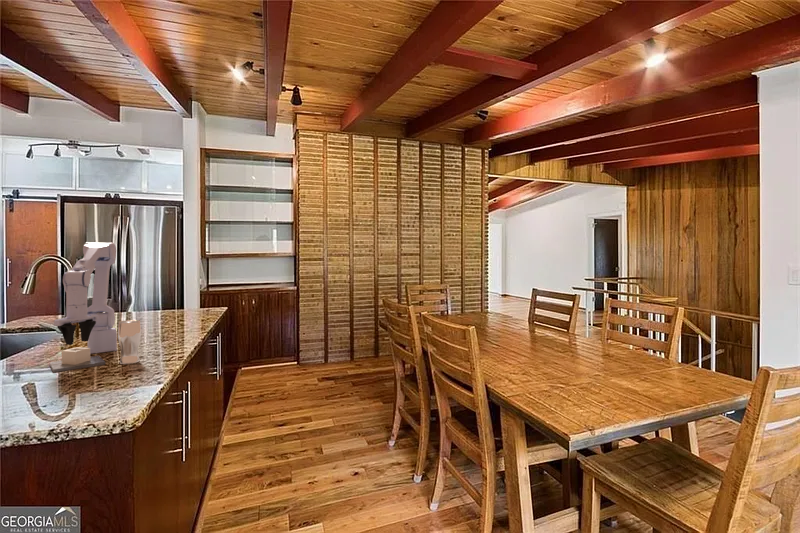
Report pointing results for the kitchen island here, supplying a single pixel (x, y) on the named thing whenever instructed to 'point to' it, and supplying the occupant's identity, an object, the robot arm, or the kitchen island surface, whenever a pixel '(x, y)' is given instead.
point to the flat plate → (59, 366)
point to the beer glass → (129, 341)
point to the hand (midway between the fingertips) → (77, 342)
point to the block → (75, 355)
